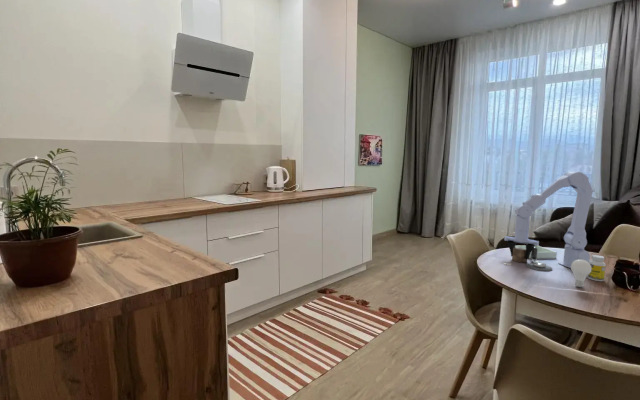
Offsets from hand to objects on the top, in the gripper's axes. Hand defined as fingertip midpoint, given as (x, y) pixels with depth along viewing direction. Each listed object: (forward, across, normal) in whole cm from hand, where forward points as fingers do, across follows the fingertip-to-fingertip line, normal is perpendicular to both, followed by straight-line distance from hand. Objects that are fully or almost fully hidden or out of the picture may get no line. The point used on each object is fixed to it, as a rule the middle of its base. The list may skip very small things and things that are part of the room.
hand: (519, 257), depth 166 cm
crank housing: (+2, -9, +4) cm, 10 cm away
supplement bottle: (+2, -30, +3) cm, 30 cm away
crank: (+2, -9, +4) cm, 10 cm away
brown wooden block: (+2, 0, 0) cm, 2 cm away
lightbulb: (+2, -28, +20) cm, 34 cm away
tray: (+2, -1, -18) cm, 18 cm away
